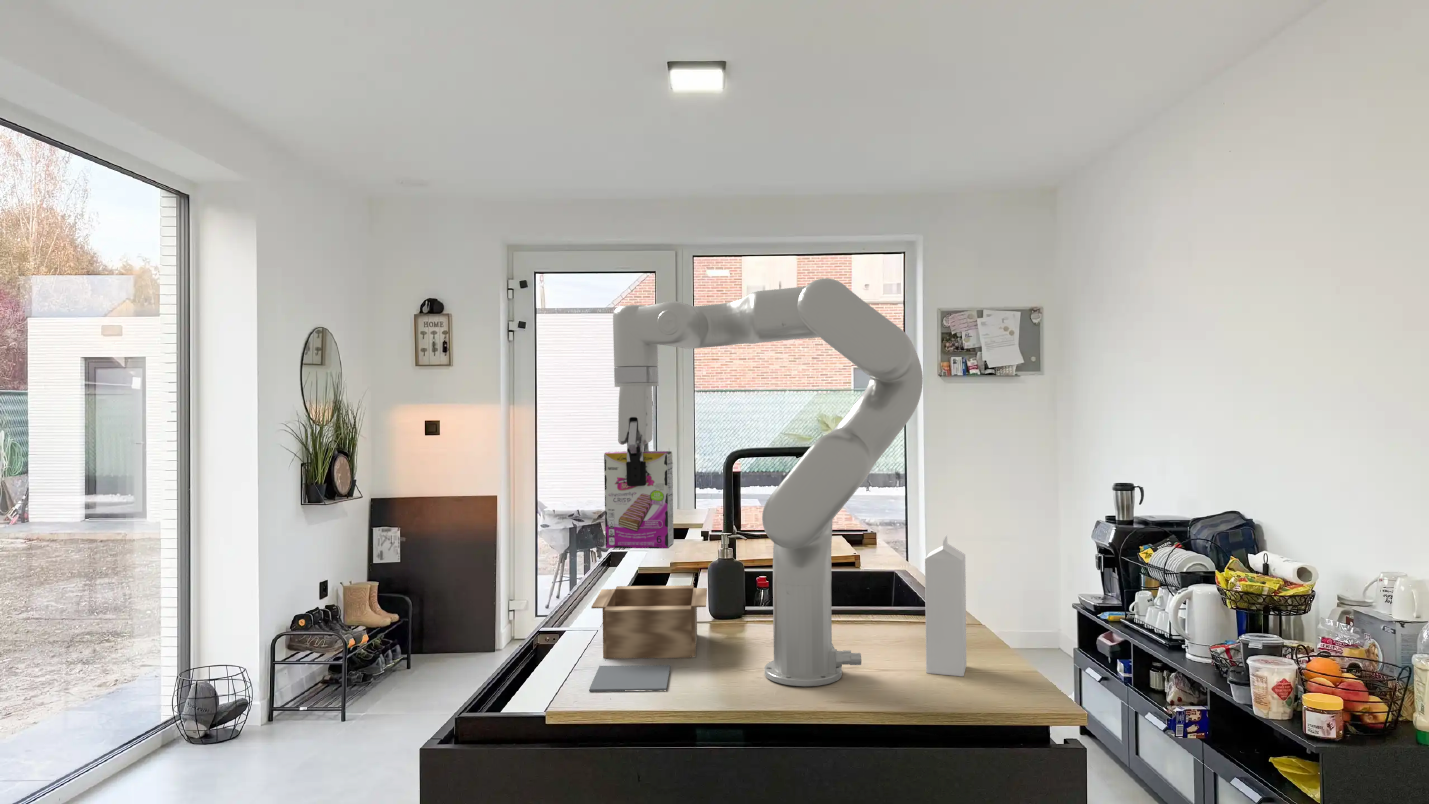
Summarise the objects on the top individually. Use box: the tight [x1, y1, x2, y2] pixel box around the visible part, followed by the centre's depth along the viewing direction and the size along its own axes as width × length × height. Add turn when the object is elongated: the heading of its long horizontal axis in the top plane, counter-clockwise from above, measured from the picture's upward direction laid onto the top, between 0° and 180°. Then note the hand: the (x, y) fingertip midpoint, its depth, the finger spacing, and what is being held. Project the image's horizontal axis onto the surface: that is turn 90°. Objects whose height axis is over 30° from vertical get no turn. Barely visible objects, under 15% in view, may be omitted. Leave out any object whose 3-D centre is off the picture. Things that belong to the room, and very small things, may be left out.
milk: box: [924, 534, 967, 677], centre depth 146 cm, size 6×6×22 cm
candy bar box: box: [603, 450, 675, 550], centre depth 151 cm, size 11×5×16 cm, turn 82°
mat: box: [588, 664, 671, 693], centre depth 143 cm, size 12×12×1 cm
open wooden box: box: [591, 584, 708, 660], centre depth 162 cm, size 20×19×9 cm
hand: (638, 482), depth 151 cm, fingers closed on candy bar box, 5 cm apart
